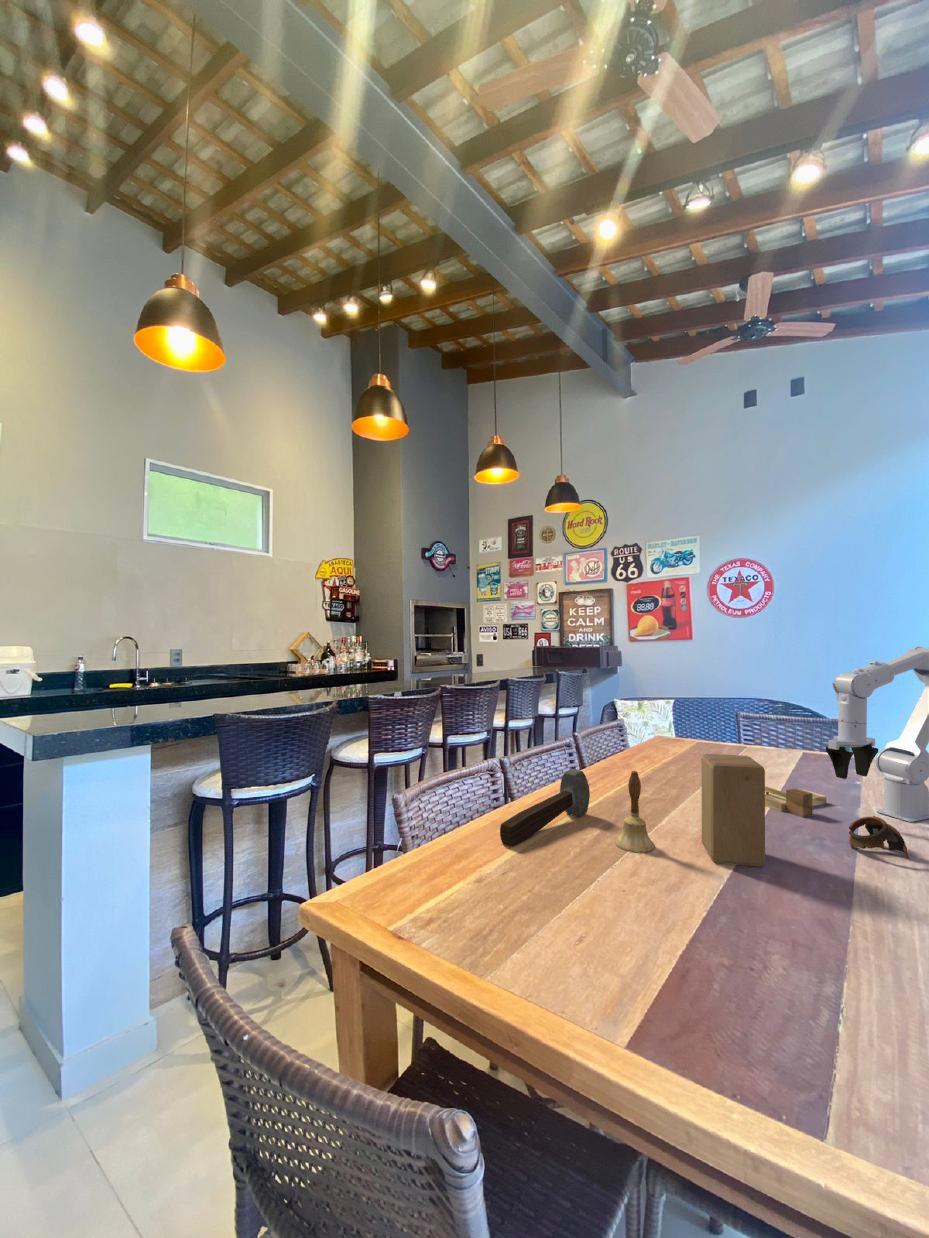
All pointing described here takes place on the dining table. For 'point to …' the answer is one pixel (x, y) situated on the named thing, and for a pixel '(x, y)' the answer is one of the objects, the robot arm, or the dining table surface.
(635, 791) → the hand bell
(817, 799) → the board
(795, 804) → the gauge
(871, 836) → the broken clay pot
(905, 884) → the dining table surface
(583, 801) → the hammer
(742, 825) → the wooden block
